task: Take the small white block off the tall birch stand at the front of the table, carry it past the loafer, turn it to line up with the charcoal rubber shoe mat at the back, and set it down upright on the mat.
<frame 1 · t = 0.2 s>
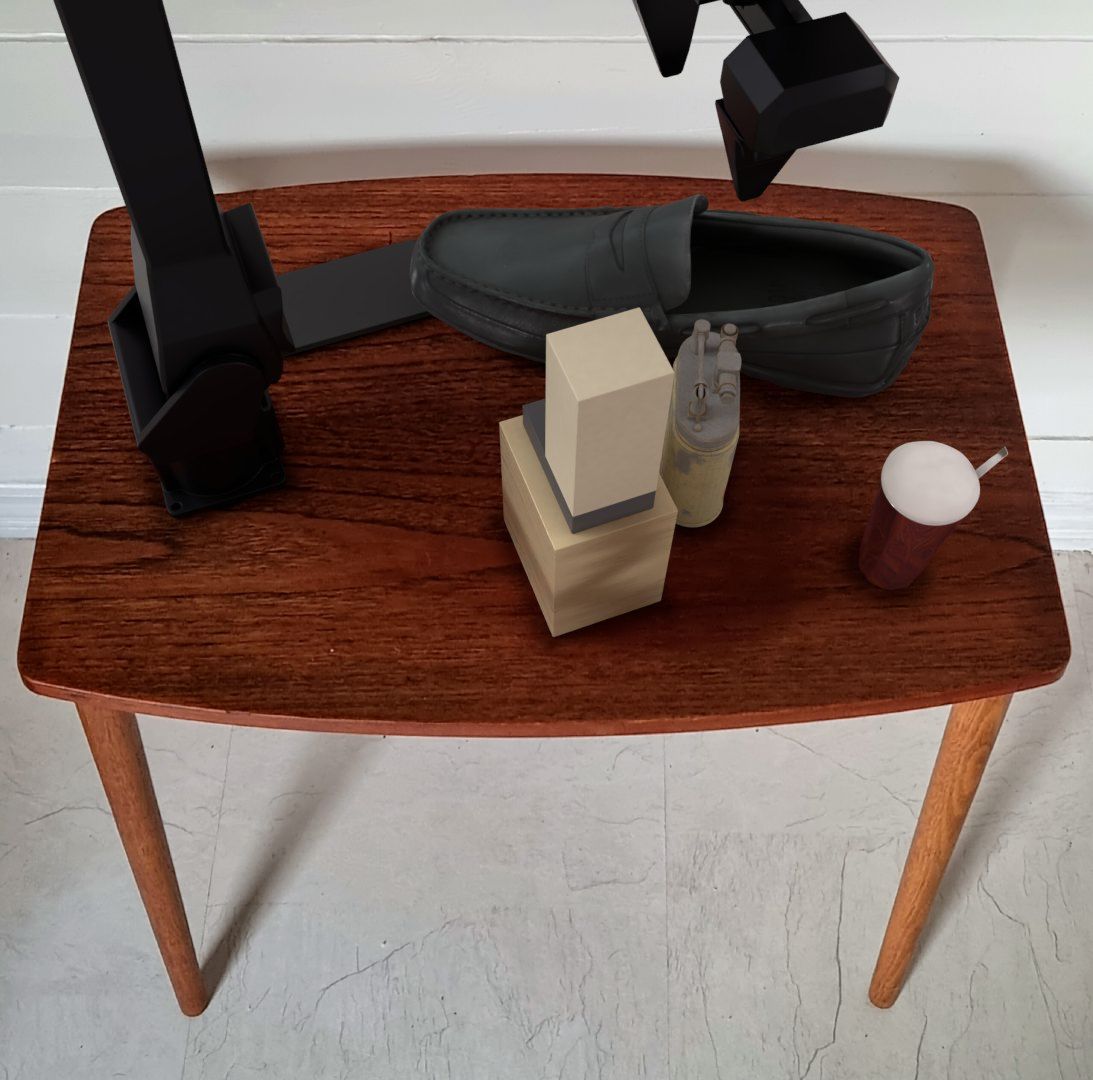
hand: (708, 133, 60), 14 cm above the table, tool pointing down, fingers open, 9 cm apart
milkshake: (894, 564, 64), on the table
shoe mat: (333, 303, 73), on the table
loafer: (657, 330, 72), on the table
white block: (586, 465, 57), point 9 cm above the table, touching stand
stand: (580, 559, 64), on the table
lighter: (687, 475, 67), on the table
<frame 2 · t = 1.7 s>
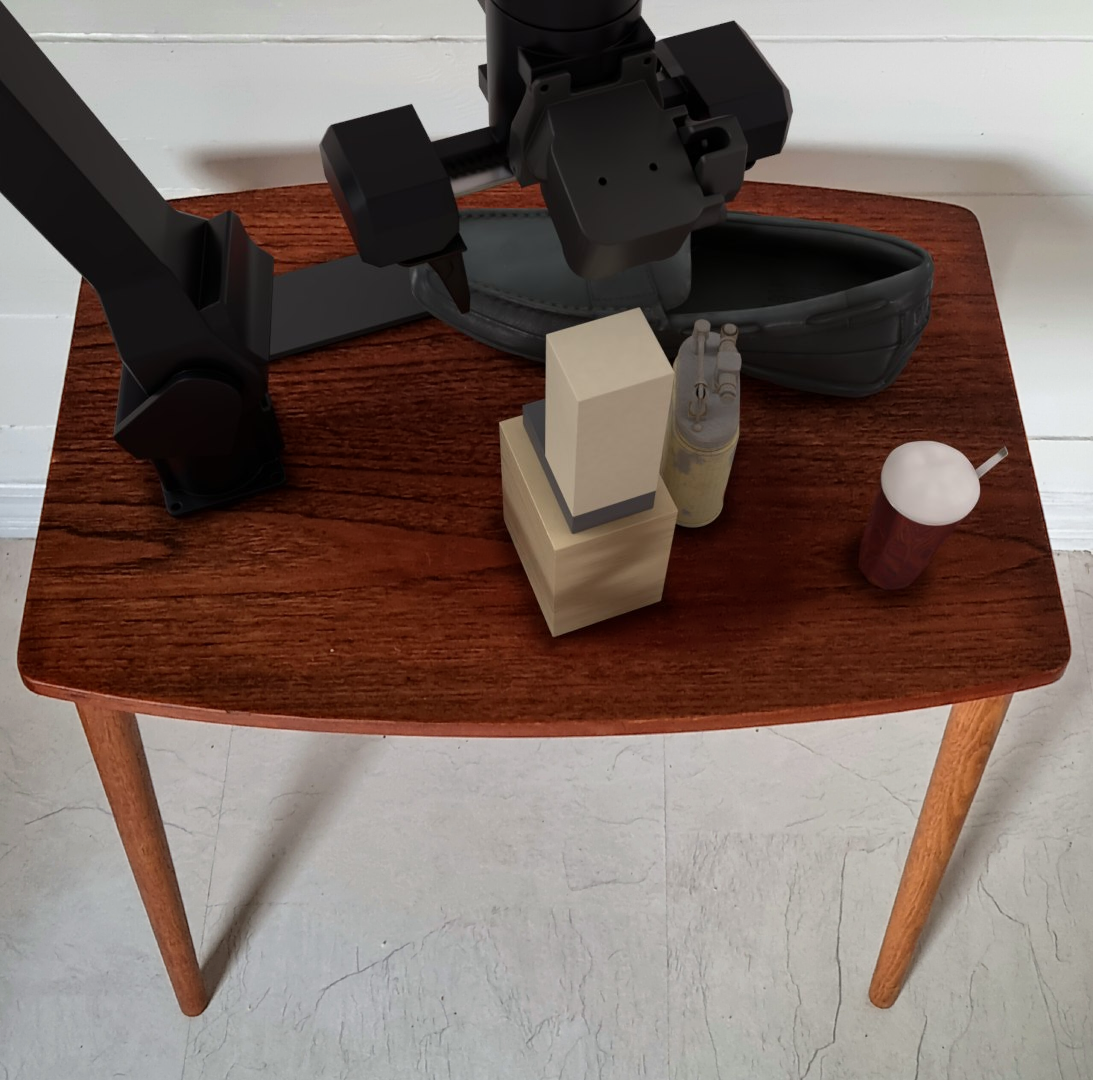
hand: (554, 279, 57), 13 cm above the table, tool pointing down, fingers open, 9 cm apart
nothing on the table moved.
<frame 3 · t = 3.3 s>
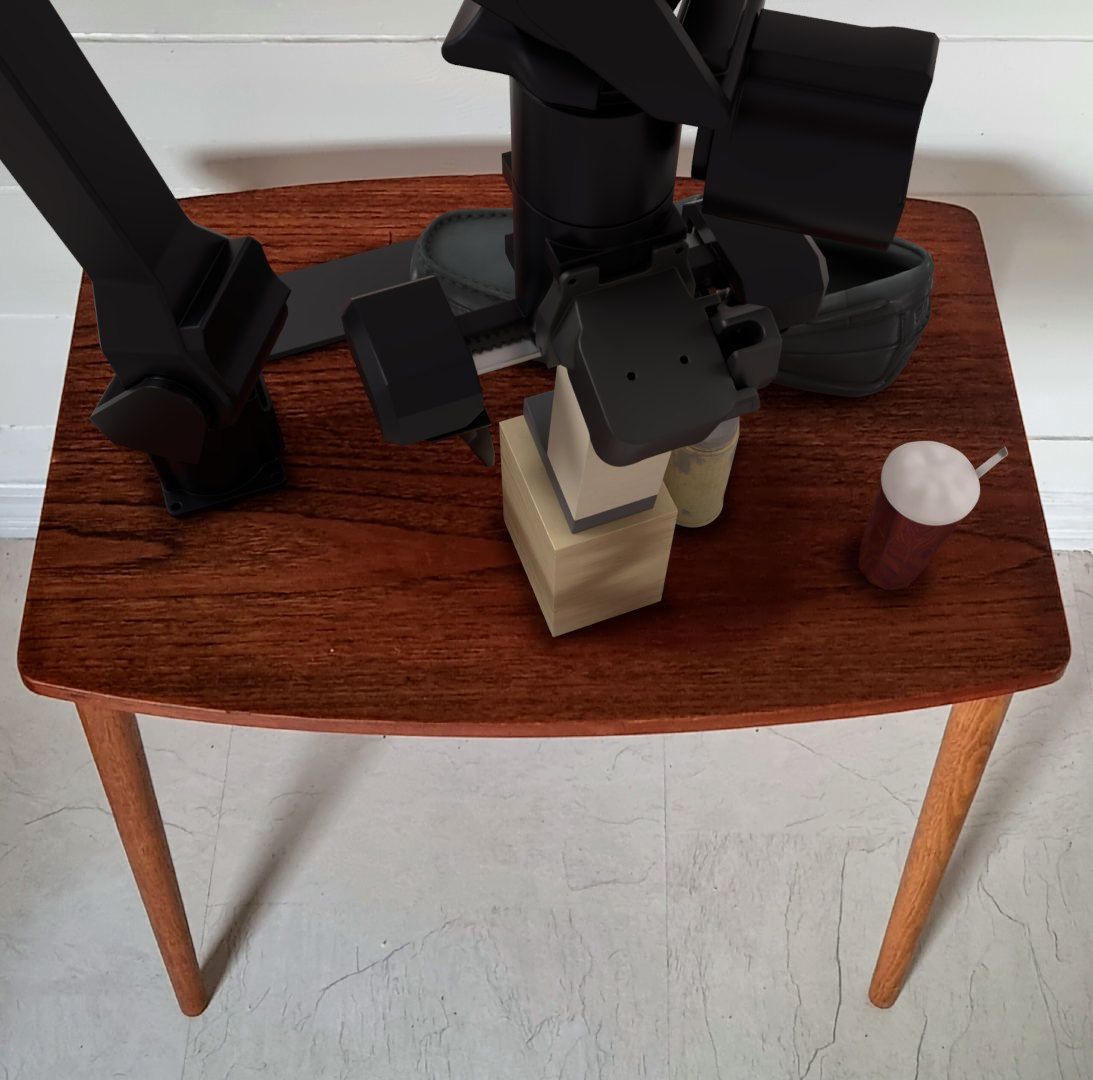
hand: (581, 429, 56), 11 cm above the table, tool pointing down, fingers open, 9 cm apart
white block: (587, 460, 56), point 9 cm above the table, tilted 8°, touching gripper, stand
everything else where it was.
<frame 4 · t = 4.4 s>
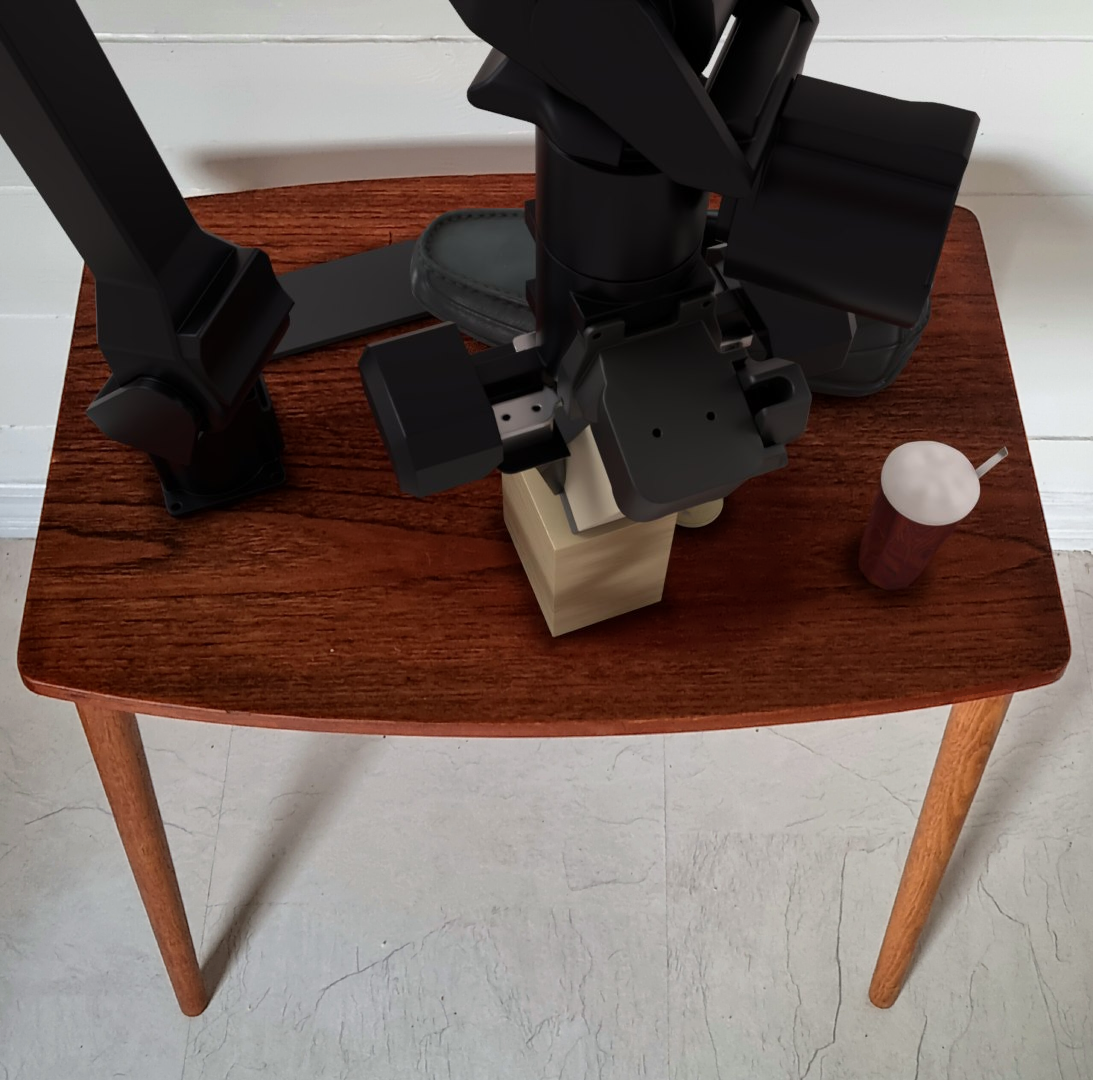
hand: (599, 472, 55), 10 cm above the table, tool pointing down, fingers closed on white block, 4 cm apart
white block: (590, 453, 55), point 10 cm above the table, tilted 27°, touching gripper, stand
everything else where it was.
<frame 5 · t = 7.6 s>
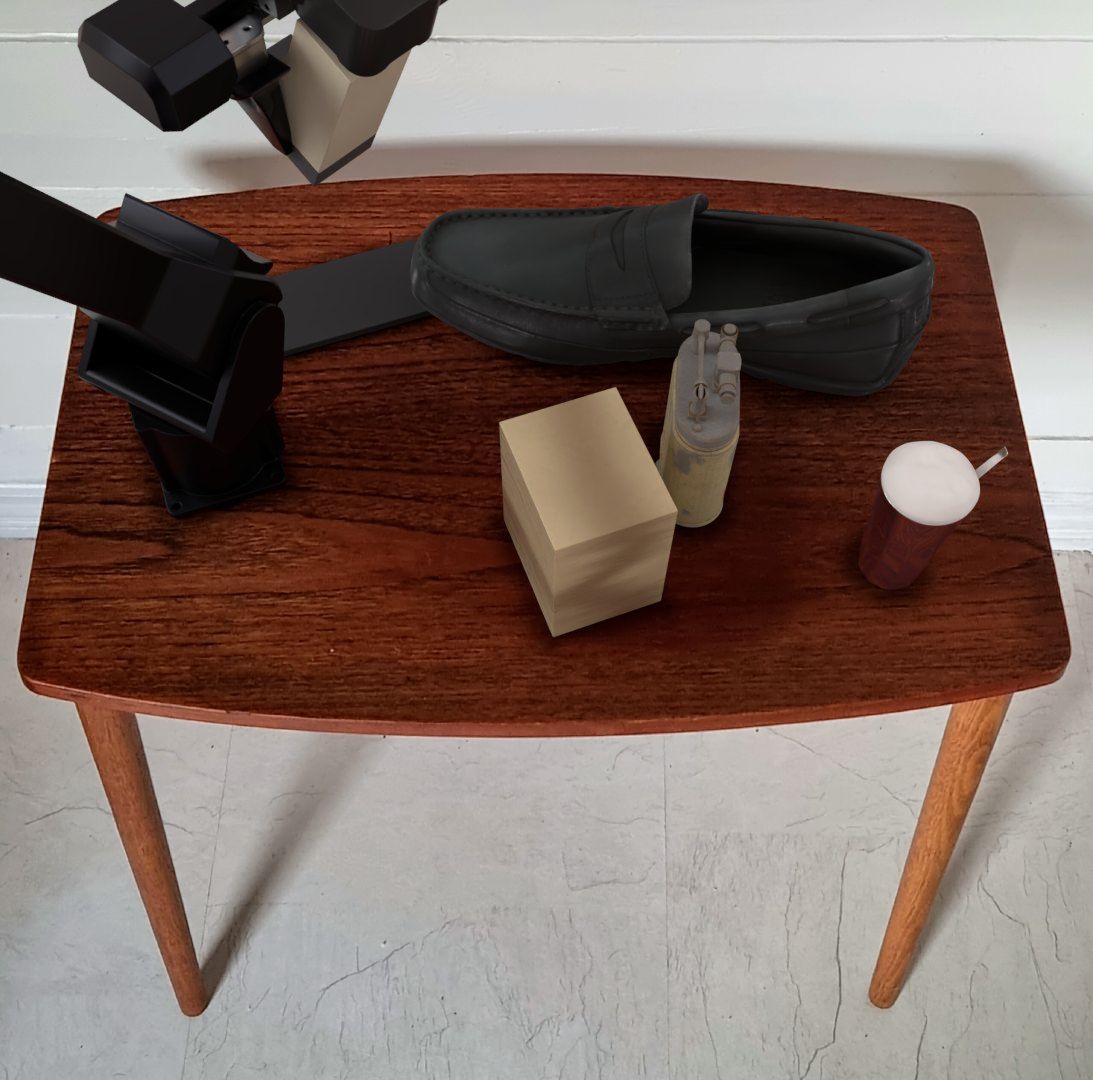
hand: (315, 128, 62), 13 cm above the table, tool pointing down, fingers closed on white block, 4 cm apart
white block: (300, 118, 62), point 13 cm above the table, tilted 27°, touching gripper
everything else where it was.
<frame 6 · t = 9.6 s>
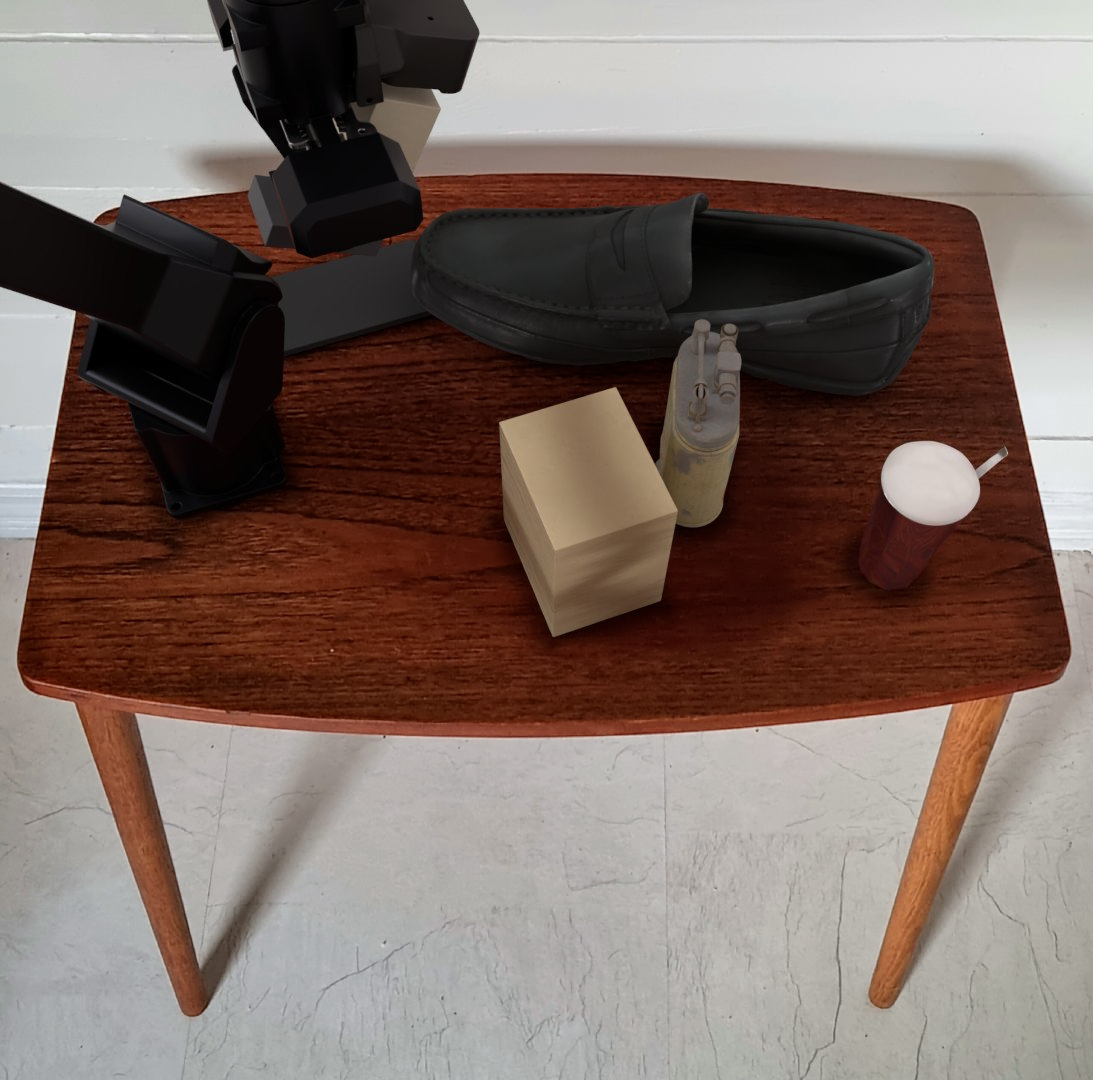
hand: (333, 221, 67), 7 cm above the table, tool pointing down, fingers closed on white block, 4 cm apart
white block: (312, 226, 67), point 7 cm above the table, tilted 27°, touching gripper
everything else where it was.
when the fingers open (2 cm above the table, at t = 10.9 s): white block stays where it is, resting on shoe mat.
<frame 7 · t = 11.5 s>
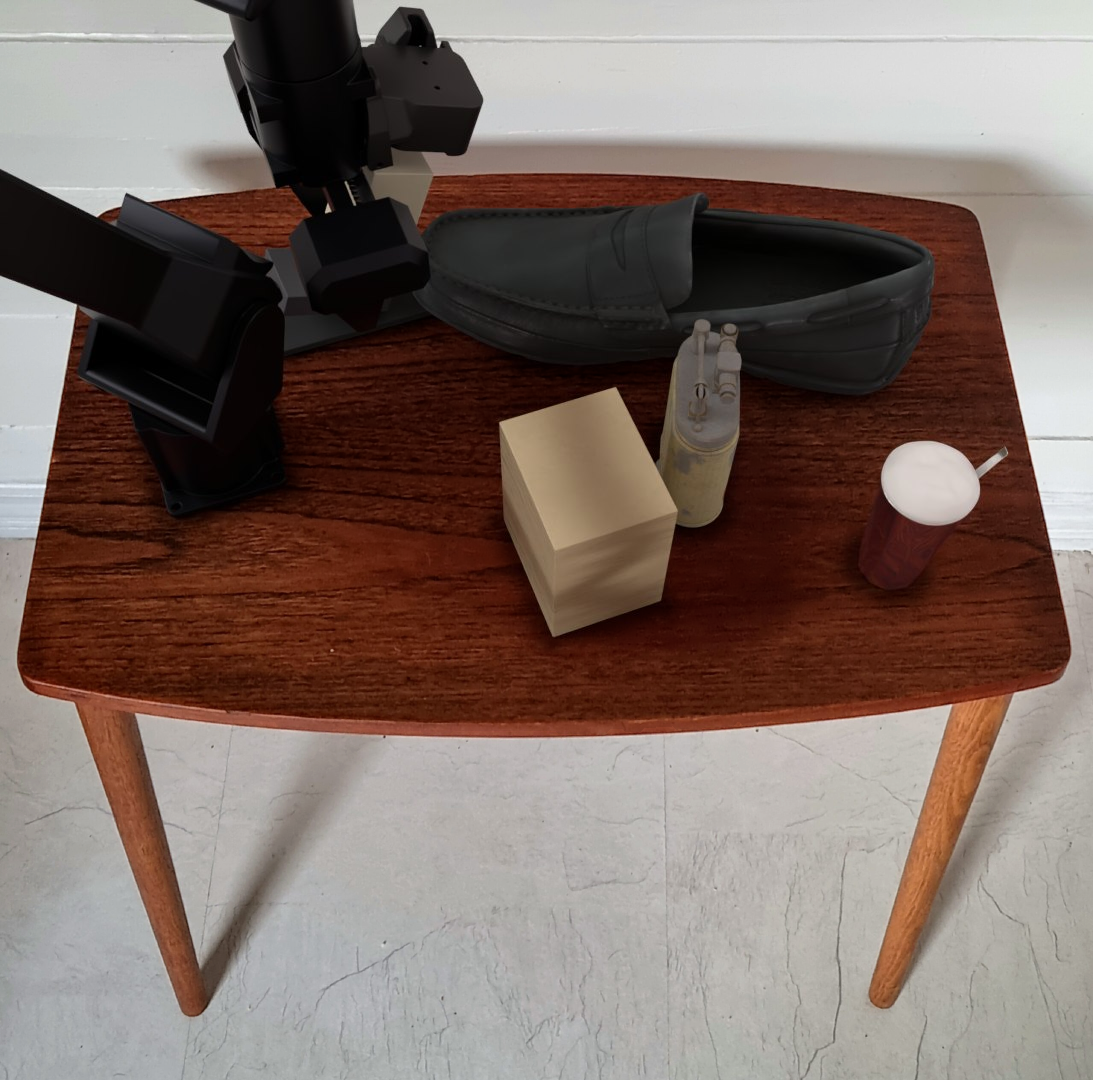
hand: (344, 270, 71), 2 cm above the table, tool pointing down, fingers open, 9 cm apart
white block: (325, 290, 71), point 2 cm above the table, tilted 22°, touching shoe mat
everything else where it was.
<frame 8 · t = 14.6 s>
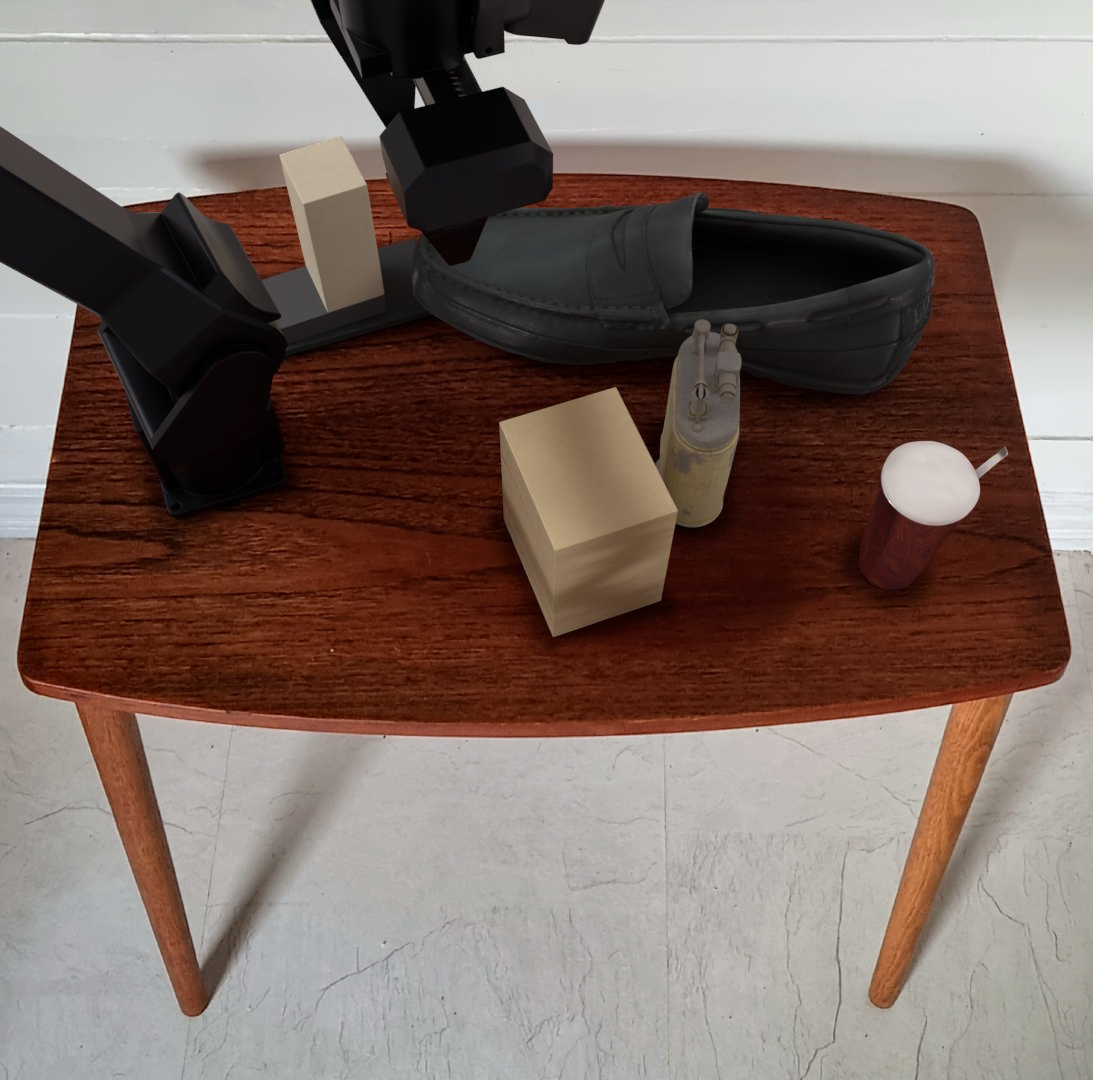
hand: (428, 195, 60), 13 cm above the table, tool pointing down, fingers open, 9 cm apart
white block: (324, 305, 72), resting on shoe mat
everything else where it was.
at the end: white block 0.5 cm off-centre on the shoe mat, point 0.5 cm above the shoe mat's base; white block tilted 0° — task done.
